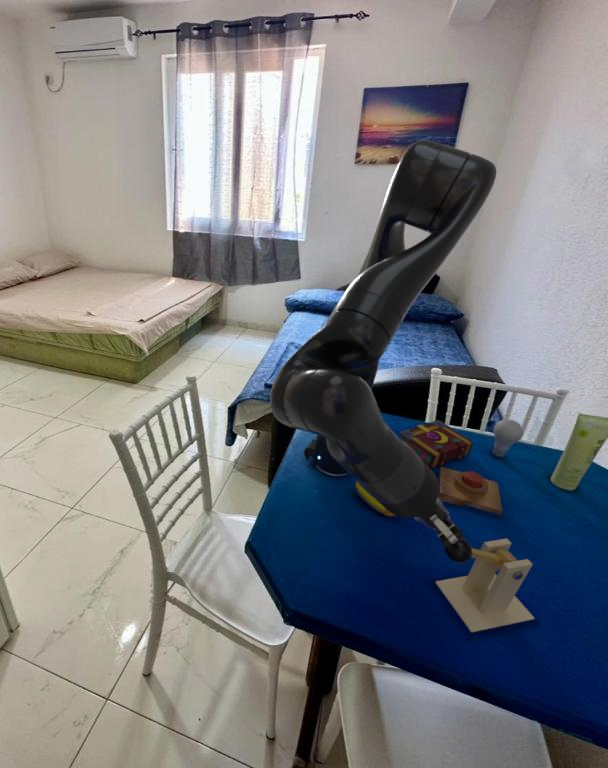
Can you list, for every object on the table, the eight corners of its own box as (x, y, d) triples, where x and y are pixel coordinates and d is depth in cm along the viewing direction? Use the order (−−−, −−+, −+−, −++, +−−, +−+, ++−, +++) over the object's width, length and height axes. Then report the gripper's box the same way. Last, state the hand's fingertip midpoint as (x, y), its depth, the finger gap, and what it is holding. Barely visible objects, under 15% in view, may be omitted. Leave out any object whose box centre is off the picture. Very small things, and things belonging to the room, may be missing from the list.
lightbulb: (514, 465, 103) (531, 429, 98) (488, 461, 104) (504, 426, 99) (505, 450, 108) (520, 416, 103) (480, 447, 109) (494, 413, 104)
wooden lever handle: (450, 566, 59) (466, 549, 58) (434, 546, 62) (449, 529, 61) (510, 579, 64) (526, 563, 63) (492, 559, 67) (507, 545, 66)
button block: (437, 499, 91) (442, 486, 90) (438, 473, 99) (442, 460, 98) (498, 518, 87) (505, 504, 85) (494, 489, 95) (500, 476, 93)
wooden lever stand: (469, 636, 65) (497, 584, 59) (433, 585, 72) (454, 535, 66) (532, 622, 67) (565, 571, 61) (490, 575, 75) (516, 525, 69)
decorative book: (469, 455, 106) (476, 440, 104) (426, 472, 100) (432, 456, 97) (433, 432, 115) (438, 417, 113) (391, 446, 109) (396, 431, 106)
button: (463, 485, 91) (465, 479, 90) (462, 475, 94) (464, 469, 93) (481, 490, 89) (483, 484, 89) (480, 480, 92) (482, 474, 91)
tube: (565, 494, 94) (605, 424, 85) (543, 480, 98) (579, 412, 89) (580, 488, 96) (621, 419, 87) (557, 474, 100) (594, 407, 91)
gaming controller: (348, 494, 92) (381, 526, 84) (352, 476, 89) (386, 506, 82) (395, 476, 98) (430, 503, 90) (401, 458, 96) (437, 485, 88)
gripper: (455, 493, 43) (510, 554, 51) (388, 424, 55) (442, 483, 63) (398, 534, 45) (461, 587, 53) (345, 459, 56) (403, 512, 64)
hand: (450, 531), depth 58 cm, fingers closed
